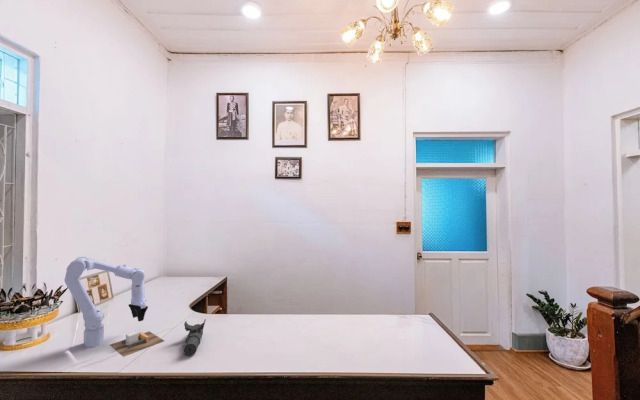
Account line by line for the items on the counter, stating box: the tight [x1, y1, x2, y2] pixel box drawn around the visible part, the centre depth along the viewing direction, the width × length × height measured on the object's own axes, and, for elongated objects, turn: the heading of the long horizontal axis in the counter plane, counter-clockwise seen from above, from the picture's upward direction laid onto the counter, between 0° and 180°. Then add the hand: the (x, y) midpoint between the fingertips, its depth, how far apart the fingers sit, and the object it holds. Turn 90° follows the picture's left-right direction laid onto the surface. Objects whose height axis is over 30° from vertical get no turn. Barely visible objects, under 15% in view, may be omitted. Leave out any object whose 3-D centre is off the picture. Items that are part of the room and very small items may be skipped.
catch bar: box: [138, 331, 149, 343], centre depth 143 cm, size 9×1×2 cm, turn 53°
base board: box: [109, 331, 165, 358], centre depth 140 cm, size 18×18×2 cm
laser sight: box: [182, 318, 207, 357], centre depth 141 cm, size 10×22×10 cm, turn 15°
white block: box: [125, 330, 139, 346], centre depth 139 cm, size 4×4×5 cm
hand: (138, 318), depth 148 cm, fingers open, 7 cm apart
